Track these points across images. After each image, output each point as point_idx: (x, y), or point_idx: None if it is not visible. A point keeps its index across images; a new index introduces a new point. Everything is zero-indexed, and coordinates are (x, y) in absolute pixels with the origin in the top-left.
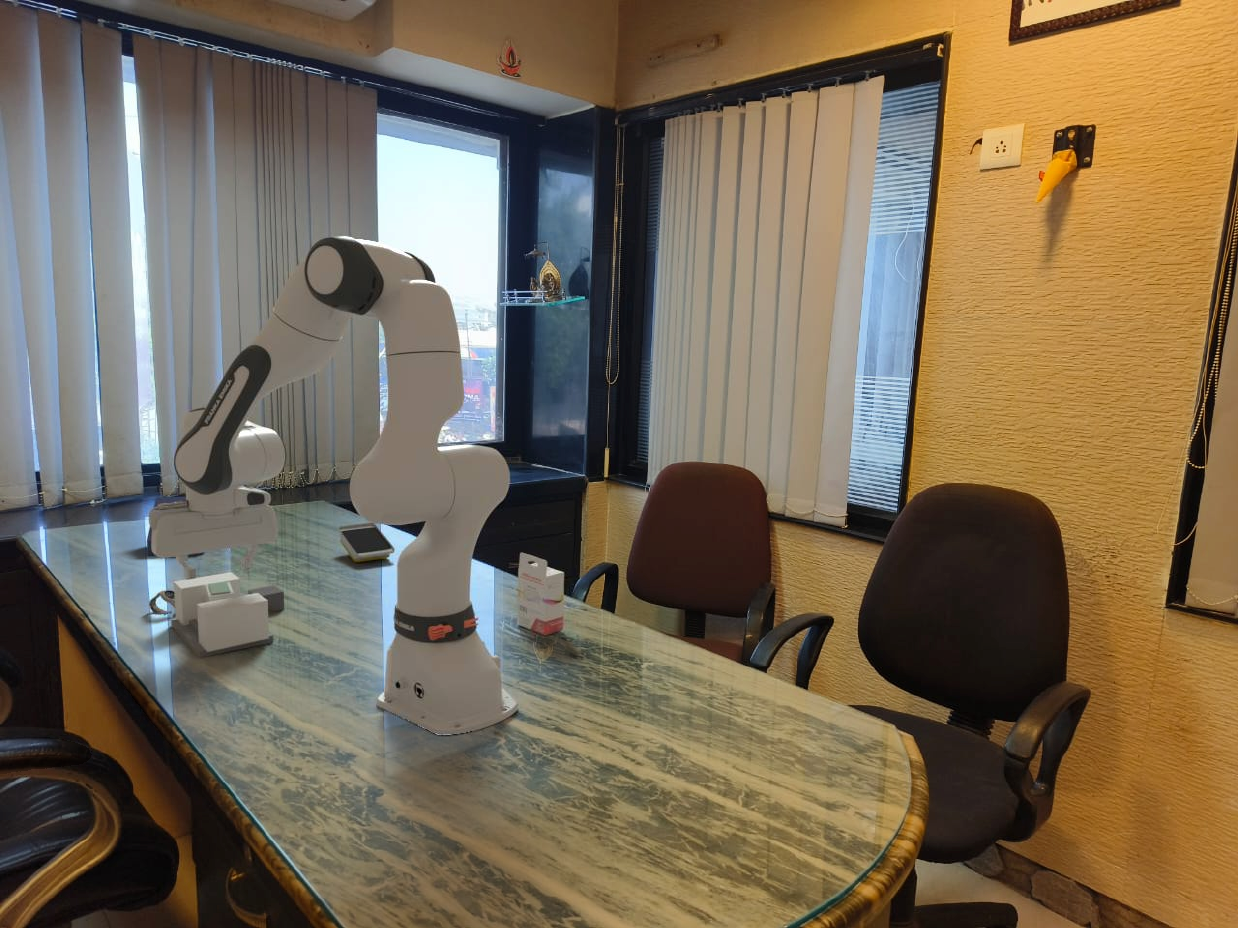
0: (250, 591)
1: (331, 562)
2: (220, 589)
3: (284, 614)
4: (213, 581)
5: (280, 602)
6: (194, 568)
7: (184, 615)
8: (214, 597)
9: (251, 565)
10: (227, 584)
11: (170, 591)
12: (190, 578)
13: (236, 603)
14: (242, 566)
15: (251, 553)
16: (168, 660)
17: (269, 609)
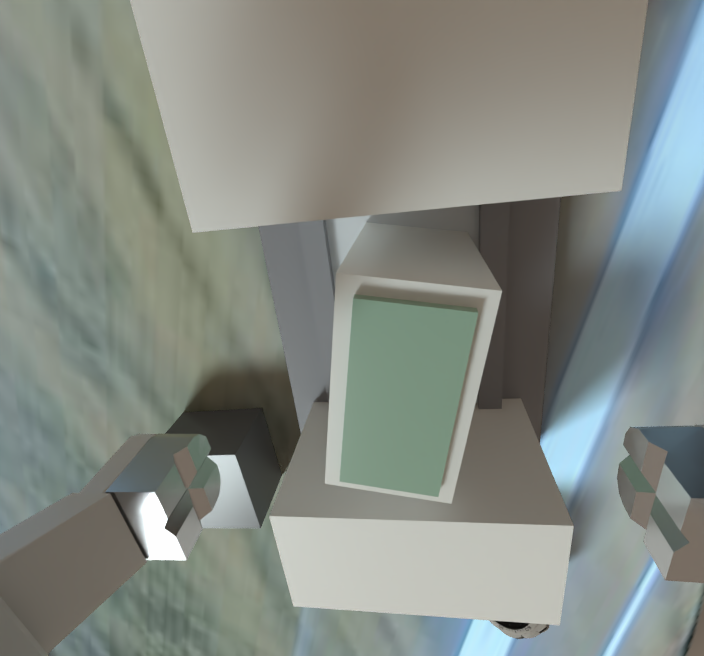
0: (254, 513)
1: (61, 643)
2: (403, 367)
3: (185, 376)
4: (392, 541)
5: (178, 430)
6: (688, 522)
7: (522, 423)
8: (463, 282)
9: (126, 448)
10: (344, 435)
11: (505, 623)
12: (692, 426)
13: (358, 37)
14: (204, 482)
15: (32, 562)
16: (670, 118)
17: (222, 417)
